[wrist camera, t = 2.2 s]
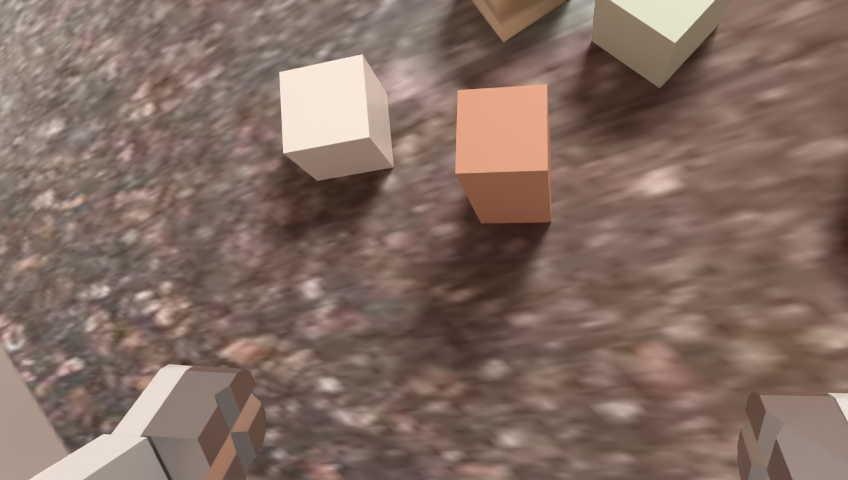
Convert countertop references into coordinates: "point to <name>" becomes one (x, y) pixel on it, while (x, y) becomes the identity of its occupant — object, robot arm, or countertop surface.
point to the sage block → (654, 32)
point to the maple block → (514, 14)
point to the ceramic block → (335, 119)
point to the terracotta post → (505, 153)
